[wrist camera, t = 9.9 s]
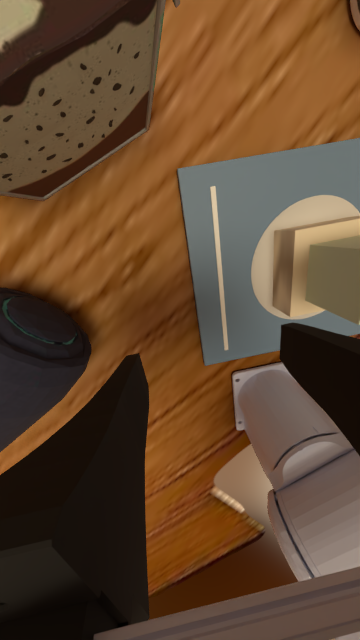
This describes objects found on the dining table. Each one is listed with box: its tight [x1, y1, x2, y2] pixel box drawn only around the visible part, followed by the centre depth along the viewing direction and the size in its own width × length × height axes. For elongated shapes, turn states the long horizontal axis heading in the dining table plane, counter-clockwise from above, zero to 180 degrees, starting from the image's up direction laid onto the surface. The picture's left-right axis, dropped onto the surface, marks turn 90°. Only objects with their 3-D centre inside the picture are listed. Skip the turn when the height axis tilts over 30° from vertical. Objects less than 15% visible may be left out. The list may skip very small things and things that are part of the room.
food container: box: [0, 0, 180, 201], centre depth 9 cm, size 12×6×10 cm, turn 119°
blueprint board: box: [177, 138, 360, 366], centre depth 18 cm, size 18×22×4 cm
